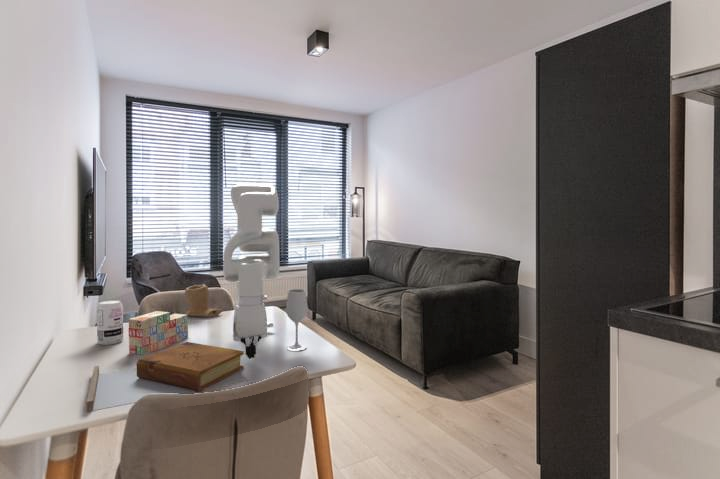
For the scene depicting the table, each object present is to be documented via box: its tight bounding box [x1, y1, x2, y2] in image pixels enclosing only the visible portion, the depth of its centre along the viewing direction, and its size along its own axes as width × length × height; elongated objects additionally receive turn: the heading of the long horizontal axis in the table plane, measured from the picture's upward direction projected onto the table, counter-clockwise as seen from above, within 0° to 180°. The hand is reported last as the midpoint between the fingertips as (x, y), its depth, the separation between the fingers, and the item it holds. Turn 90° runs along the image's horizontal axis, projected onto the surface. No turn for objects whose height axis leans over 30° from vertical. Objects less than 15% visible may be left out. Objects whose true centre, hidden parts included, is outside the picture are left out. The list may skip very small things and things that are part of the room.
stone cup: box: [184, 283, 223, 318], centre depth 188 cm, size 15×12×15 cm
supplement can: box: [96, 299, 124, 346], centre depth 148 cm, size 8×8×15 cm
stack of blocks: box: [128, 310, 189, 356], centre depth 145 cm, size 21×6×12 cm, turn 162°
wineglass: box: [285, 288, 308, 349], centre depth 143 cm, size 8×8×21 cm
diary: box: [136, 341, 245, 392], centre depth 118 cm, size 23×19×6 cm
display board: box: [86, 365, 248, 413], centre depth 116 cm, size 38×26×3 cm
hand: (250, 356), depth 128 cm, fingers closed
